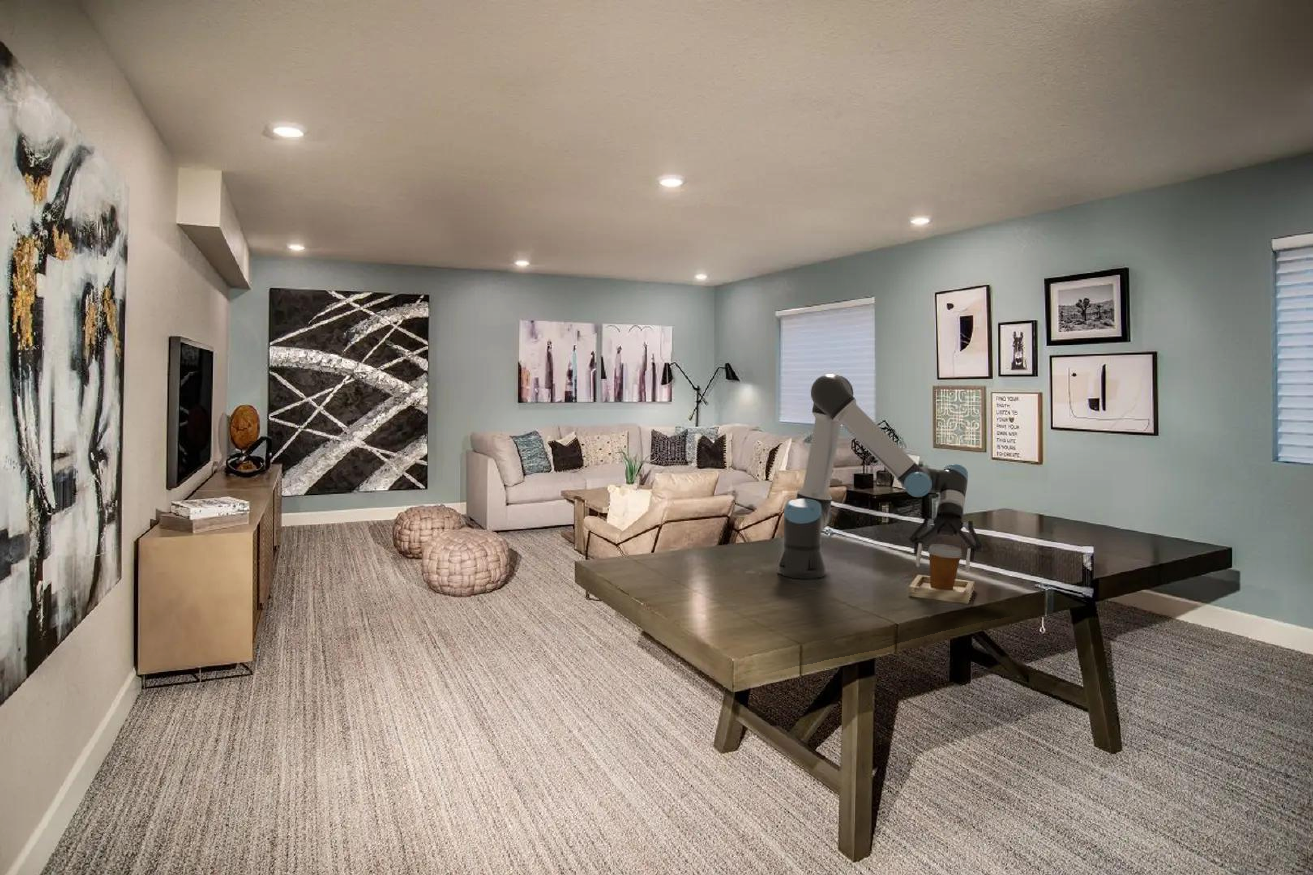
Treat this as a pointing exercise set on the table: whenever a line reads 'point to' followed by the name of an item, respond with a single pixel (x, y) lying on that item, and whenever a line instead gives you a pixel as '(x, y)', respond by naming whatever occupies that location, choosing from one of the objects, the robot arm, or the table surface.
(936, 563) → the disposable coffee cup
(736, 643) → the table surface
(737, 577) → the table surface
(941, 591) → the tray
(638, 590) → the table surface
